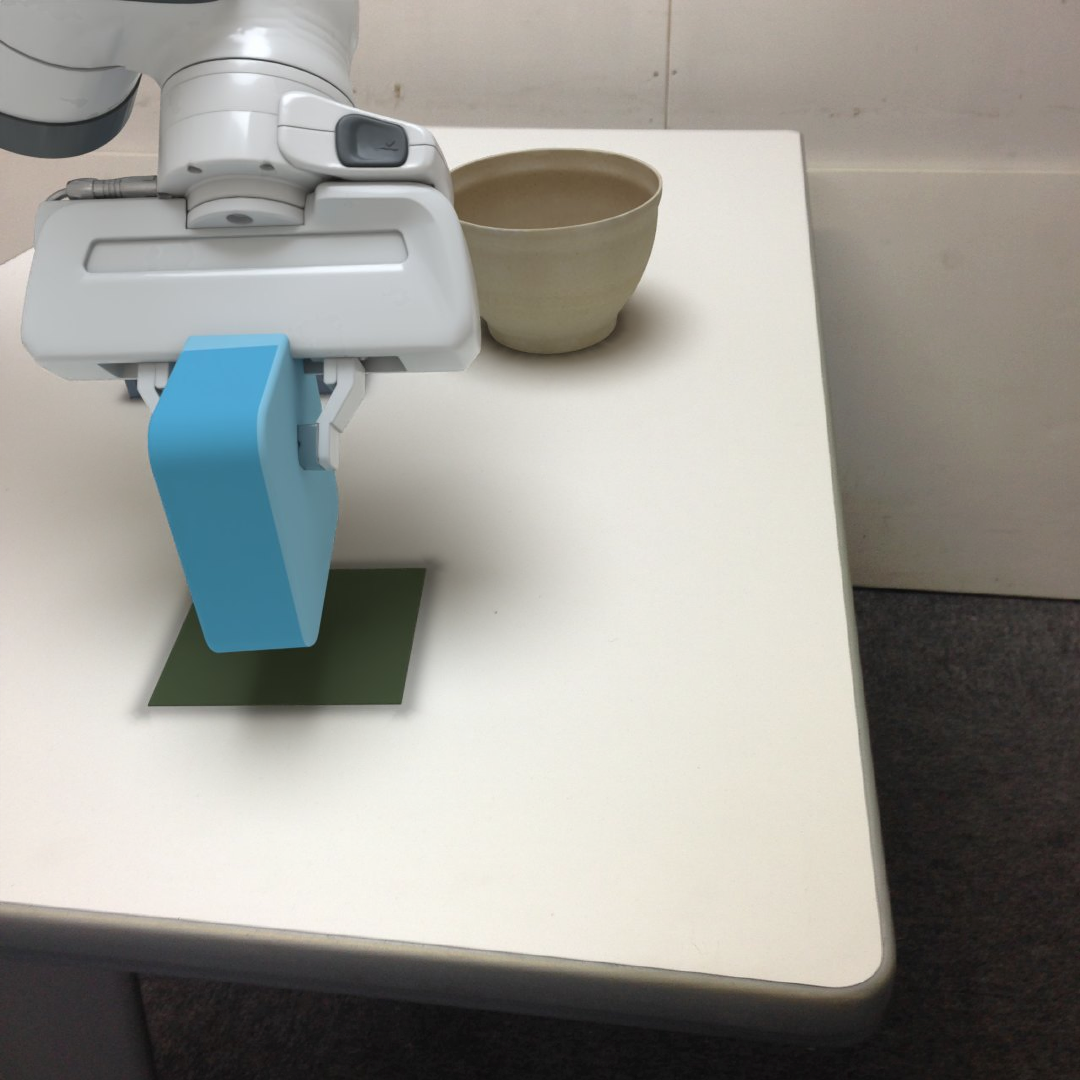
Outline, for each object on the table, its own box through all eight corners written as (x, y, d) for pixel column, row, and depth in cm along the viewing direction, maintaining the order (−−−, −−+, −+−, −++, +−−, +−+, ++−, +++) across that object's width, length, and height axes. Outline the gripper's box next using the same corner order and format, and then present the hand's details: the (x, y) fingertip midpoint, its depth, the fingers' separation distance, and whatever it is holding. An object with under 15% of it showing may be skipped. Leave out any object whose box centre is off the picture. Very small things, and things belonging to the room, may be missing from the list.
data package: (256, 510, 57) (202, 298, 50) (341, 504, 57) (301, 292, 50) (212, 669, 47) (138, 436, 40) (315, 662, 47) (259, 428, 40)
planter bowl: (513, 269, 90) (505, 136, 83) (693, 304, 83) (700, 162, 76) (400, 352, 79) (380, 205, 72) (596, 399, 72) (594, 243, 65)
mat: (149, 710, 51) (147, 704, 51) (207, 576, 59) (206, 570, 59) (402, 708, 50) (400, 703, 50) (426, 573, 58) (425, 567, 58)
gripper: (1, 147, 47) (-18, 459, 45) (469, 130, 46) (469, 449, 44) (71, 210, 53) (57, 487, 51) (485, 196, 52) (486, 478, 50)
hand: (251, 469), depth 48 cm, fingers closed on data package, 5 cm apart
